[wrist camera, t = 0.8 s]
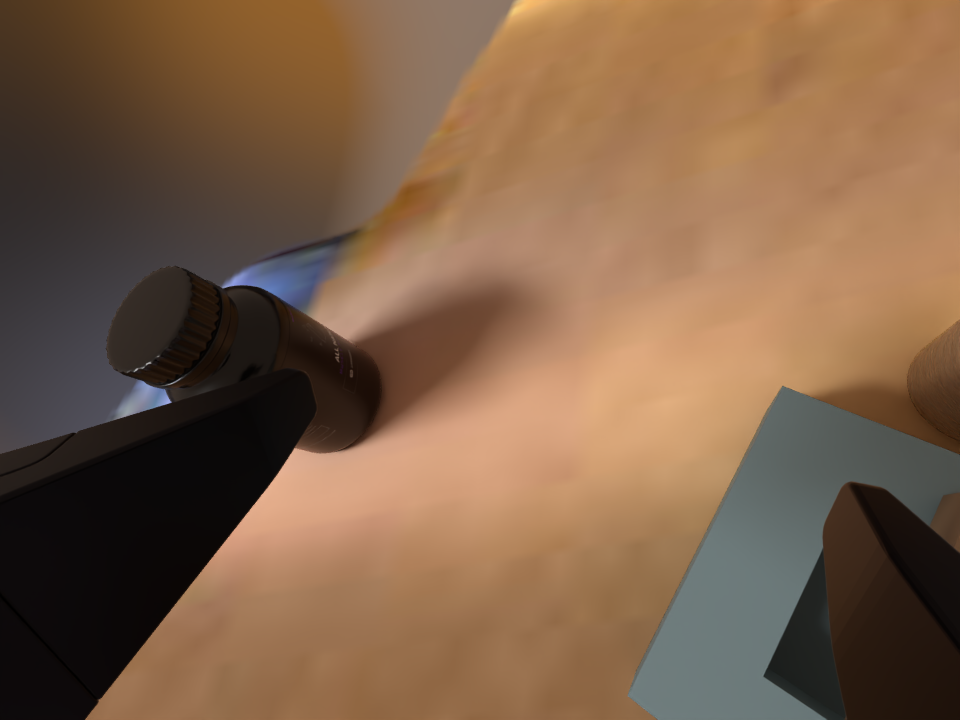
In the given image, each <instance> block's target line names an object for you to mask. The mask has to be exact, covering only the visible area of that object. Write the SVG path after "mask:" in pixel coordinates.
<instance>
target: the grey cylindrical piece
mask: <svg viewBox="0 0 960 720" xmlns="http://www.w3.org/2000/svg"><path fill="white" fill-rule="evenodd" d="M907 385H908V391H909V394H910V397H911V399H912V401H913V403H914V405H915V407H916V408H917V410H918V411H919V413H920V414H921V415H922V416H923V417H924V418H925V419H926V420H927V421H928V422H929V423H930V424H931V425H932V426H934V427H935V428H937V429H938V430H939V431H941V432H943V433H944V434H946V435H948V436H950V437H952V438H954V439H956V440H958V441H960V319H959V320H958V321H957V322H956V323H954V324H953V325H952V326H951V327H950V328H948V329H947V330H946V331H945V332H943V333H942V334H941V335H940V336H938V337H937V338H936V339H935V340H933V341H932V342H931V343H930V344H928V345H927V346H926V347H925V348H924V349H922V350H921V351H920V352H919V353H918V354H917V356H916V357H915V358H914V360H913V361H912V363H911V366H910V368H909V371H908V376H907Z"/></svg>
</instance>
